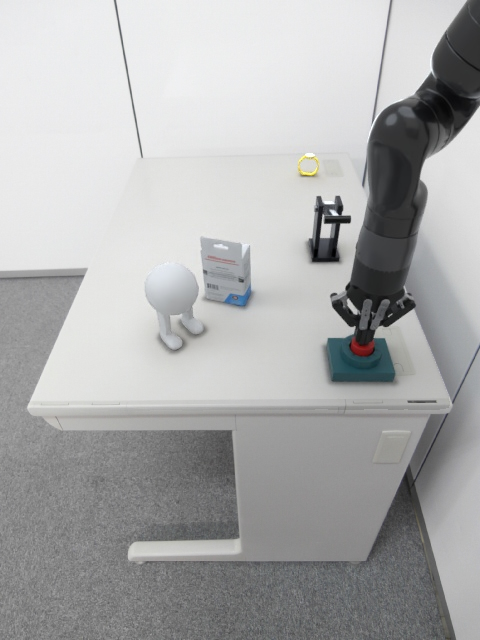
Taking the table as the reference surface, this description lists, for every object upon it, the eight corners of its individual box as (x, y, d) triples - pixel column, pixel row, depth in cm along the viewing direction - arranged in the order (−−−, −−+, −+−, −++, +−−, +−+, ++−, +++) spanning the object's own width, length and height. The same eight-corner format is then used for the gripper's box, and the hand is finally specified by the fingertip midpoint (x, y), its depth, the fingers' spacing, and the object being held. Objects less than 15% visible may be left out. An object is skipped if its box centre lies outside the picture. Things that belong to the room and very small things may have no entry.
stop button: (370, 341, 75) (372, 334, 73) (374, 357, 72) (376, 349, 71) (349, 341, 75) (350, 333, 73) (352, 357, 72) (354, 349, 71)
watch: (297, 176, 130) (298, 156, 125) (297, 172, 132) (299, 152, 127) (317, 177, 129) (319, 157, 125) (318, 173, 131) (319, 153, 127)
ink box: (252, 291, 91) (251, 229, 81) (244, 307, 87) (242, 244, 77) (213, 284, 93) (208, 222, 83) (204, 299, 89) (198, 236, 79)
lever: (350, 226, 84) (351, 214, 83) (324, 227, 84) (325, 214, 83) (338, 212, 95) (339, 201, 94) (315, 212, 95) (316, 201, 94)
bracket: (339, 261, 98) (347, 209, 89) (312, 262, 98) (317, 210, 89) (333, 242, 103) (341, 191, 95) (308, 242, 104) (313, 191, 95)
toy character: (176, 357, 78) (164, 291, 68) (144, 333, 82) (129, 268, 72) (213, 331, 82) (207, 265, 72) (181, 309, 87) (171, 245, 77)
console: (382, 346, 78) (387, 330, 76) (392, 381, 73) (398, 365, 70) (326, 346, 79) (328, 330, 76) (331, 381, 73) (334, 365, 70)
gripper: (339, 269, 58) (324, 358, 69) (441, 269, 57) (409, 358, 69) (331, 238, 63) (319, 325, 75) (425, 238, 63) (397, 325, 74)
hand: (362, 341), depth 72 cm, fingers closed
